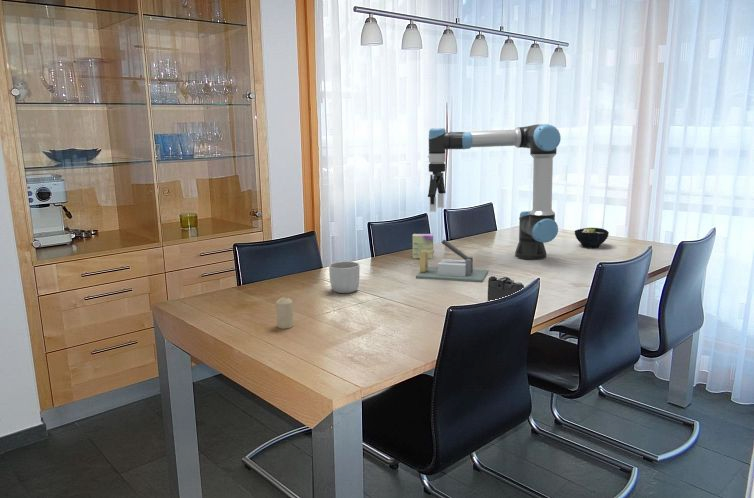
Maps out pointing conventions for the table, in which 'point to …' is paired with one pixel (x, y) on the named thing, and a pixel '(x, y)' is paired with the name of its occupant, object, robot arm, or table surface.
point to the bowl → (591, 237)
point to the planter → (344, 276)
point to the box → (422, 244)
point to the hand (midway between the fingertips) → (436, 209)
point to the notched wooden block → (424, 259)
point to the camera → (502, 287)
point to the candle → (284, 313)
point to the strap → (455, 250)
